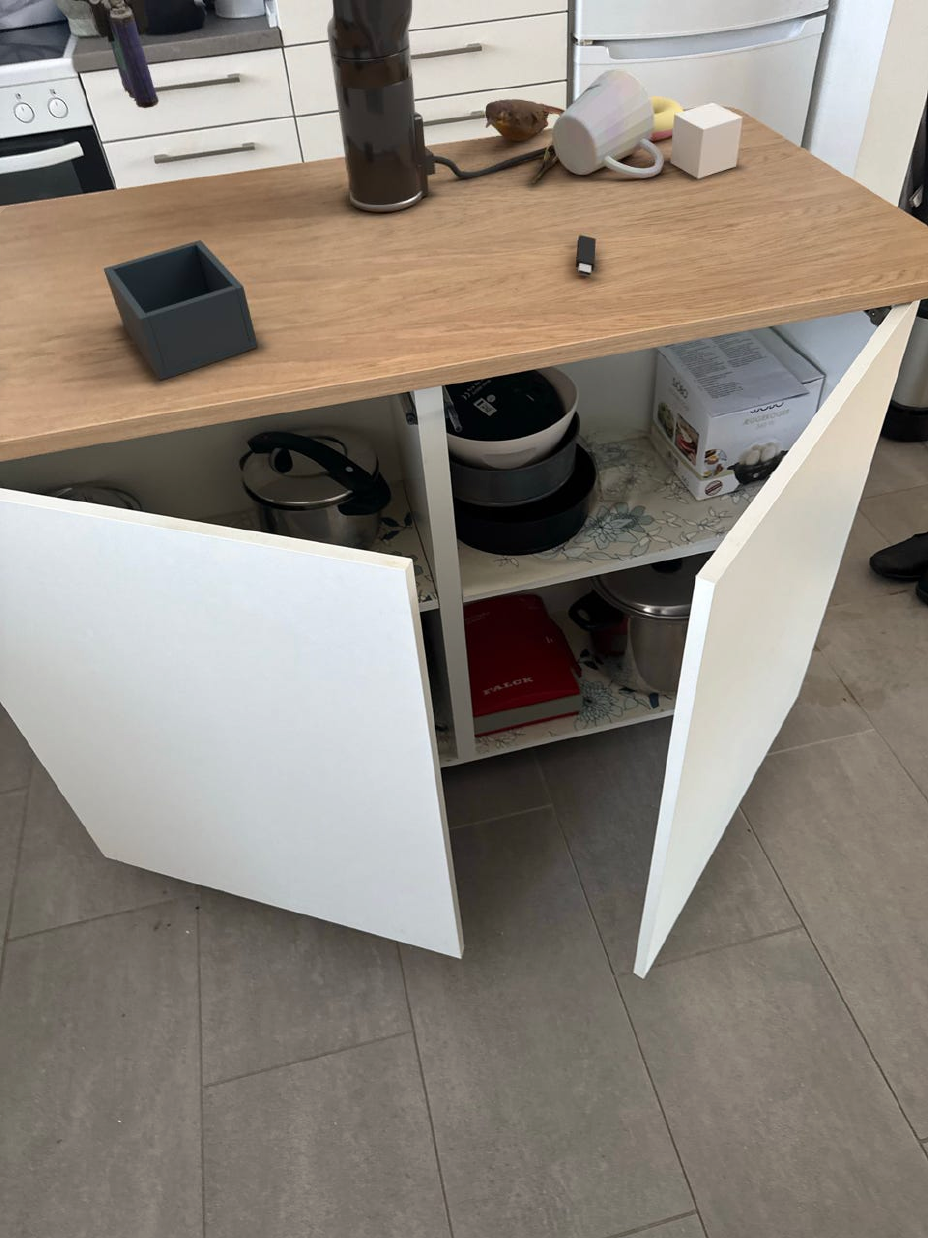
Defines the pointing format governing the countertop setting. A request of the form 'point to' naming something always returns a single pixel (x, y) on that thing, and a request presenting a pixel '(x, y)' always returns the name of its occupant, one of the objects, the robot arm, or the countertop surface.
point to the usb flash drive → (585, 255)
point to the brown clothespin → (544, 168)
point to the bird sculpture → (519, 117)
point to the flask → (130, 54)
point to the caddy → (182, 308)
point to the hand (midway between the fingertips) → (124, 35)
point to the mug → (607, 127)
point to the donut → (664, 117)
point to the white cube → (705, 140)
